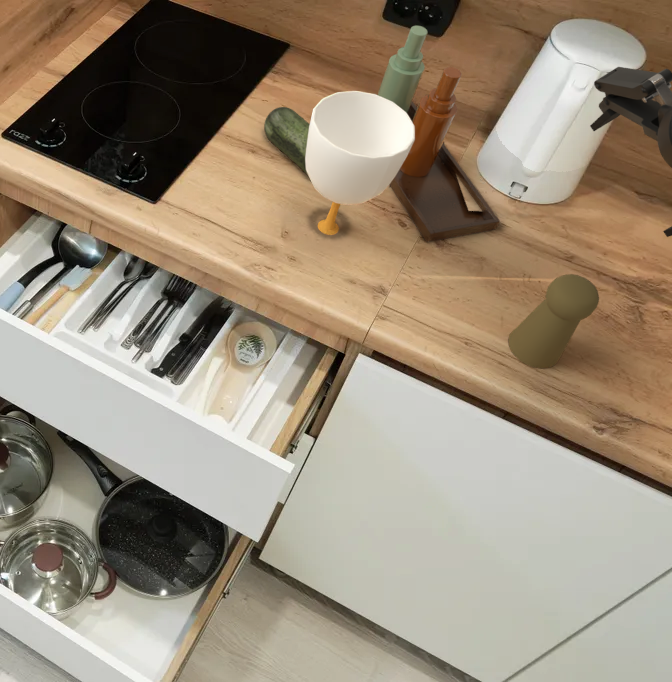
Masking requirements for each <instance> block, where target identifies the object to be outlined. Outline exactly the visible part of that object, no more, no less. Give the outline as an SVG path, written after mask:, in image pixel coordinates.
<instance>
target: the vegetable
mask: <svg viewBox="0 0 672 682" xmlns="http://www.w3.org/2000/svg"><path fill="white" fill-rule="evenodd" d="M263 125H264V126H263V128H264V129H263V132H264V134H265V136H266V138H267V139H268V140H269V142H270V143H272V144H273V145H274V146H275V147H276V148H277V149H278V150H280V151H281V152H282V153H283V154H285V155H286V156H287V157H288V158H289V159H290V160H291V161H292V162H293V163H294V164H296V165H297V166H298V167H299V168H300V169H301V170H302V171H303V172H304V173H305V174H306V175H307V176H308V173H307V171H306V163H305V156H306V147H307V139H308V131H309V125H310V122H308V121H307V120H305V119H304V118H303V117H302V116H301V115H300V114H299V113H297V112H296V111H295V110H294V109H292V108H290V107H287V106H279V107H276V108H274V109H273V110H271V111H270V112H269V113H268V115H267V116H266V118H265V120H264V123H263Z"/></svg>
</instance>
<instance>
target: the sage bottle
mask: <svg viewBox="0 0 672 682" xmlns="http://www.w3.org/2000/svg"><path fill="white" fill-rule="evenodd" d="M427 36H428V29H426V27H424V26H421V25H413V26H411V27H410V30H409V32H408V35H407V38H406V41H405V44H404V46H402V47H400V48H398V50H397V52H396V53H395V54H393V55H391V56H390V57H389V60H388V62H387V65H386V68H385V71H384V74H383V76H382V78H381V79H382V80H381V83H380V85H379V88H378V91H377V94H376V95H378V96H380V97H383V98H385V99H387V100H390V101H392V102H394V103H395V104H396V105H397V106H399V107H400V108H401V109H402V110H404V111H405V112H406V113H408V110H409V107H410V105H411V102H412V101H413V99H414V97H415V95H416V92H417V90H418V86H419V85H420V81H421V79H422V78H423V77H422V76H423V73H424V72H425V68H426V67H425V64H424V62H423V59H424V54H423V52H422V49H423V47H424V43H425V41H426V38H427Z"/></svg>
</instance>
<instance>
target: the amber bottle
mask: <svg viewBox="0 0 672 682" xmlns="http://www.w3.org/2000/svg"><path fill="white" fill-rule="evenodd" d="M461 77H462V71H461V70H459V69H458V68H456V67H453V66H448V67H447V66H446V67H445V68H444V69H443V71H442V74H441V75H440V79H439V81H438V82H437V83H438V84H437V86H436V87H434V88H432V89H431V90H430V91H429V93H428V94H426V95H423V96H422V97H421V99H420V100H419V102H418V105H417V106H416V107H417V110H416V112H415V115H414V117H413V120H412V123H413V124H414V126H415V141H414V143H413V145H412V147H411V149H410V151H409V153H408V155H407V157H406V159H405V161H404V162H403V164H402V166H401V168H400V170H401V171H402V172H403V173H405V174H407V175H409V176H413V177H423V176H426V175H427V174H429V172H430V171H431V168H432V166H433V164H434V162H435V160H436V157H437V155H438V153H439V151H440V148H441V146H442V144H444V142H445V139H446V137H447V135H448V133H449V130H450V129H451V126H452V124H453V121H454V120H455V117H456V115H457V112H458V106H457V104H456V101H457V97H456V94H455V92H456V89H457V87H458V84H459V83H460V80H461Z"/></svg>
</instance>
